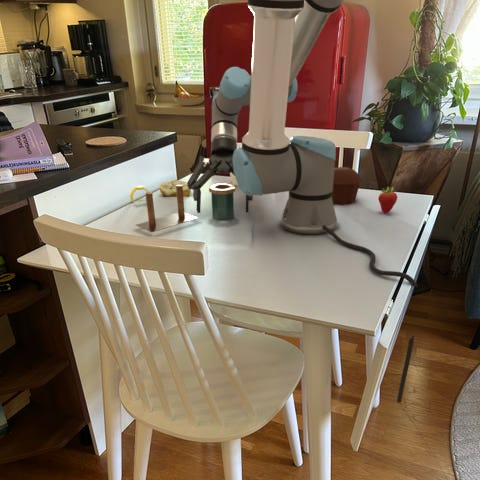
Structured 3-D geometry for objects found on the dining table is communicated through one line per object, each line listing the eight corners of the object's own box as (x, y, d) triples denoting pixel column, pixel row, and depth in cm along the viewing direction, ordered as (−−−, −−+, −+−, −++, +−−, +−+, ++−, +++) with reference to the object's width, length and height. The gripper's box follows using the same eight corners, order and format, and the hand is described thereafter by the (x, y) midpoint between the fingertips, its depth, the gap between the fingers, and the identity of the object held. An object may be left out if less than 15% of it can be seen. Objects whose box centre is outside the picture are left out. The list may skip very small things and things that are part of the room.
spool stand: (181, 216, 142) (179, 180, 136) (199, 222, 137) (196, 186, 131) (135, 230, 132) (130, 192, 127) (152, 237, 127) (147, 198, 122)
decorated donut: (167, 201, 155) (166, 189, 153) (155, 193, 163) (154, 182, 161) (196, 195, 160) (195, 184, 158) (183, 188, 168) (182, 177, 166)
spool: (236, 217, 140) (235, 183, 135) (235, 225, 134) (234, 190, 129) (212, 217, 140) (210, 183, 135) (209, 226, 134) (208, 190, 129)
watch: (133, 207, 150) (131, 188, 146) (130, 205, 152) (128, 186, 149) (151, 204, 152) (149, 186, 149) (148, 202, 154) (146, 184, 151)
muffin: (365, 199, 153) (369, 167, 148) (348, 208, 146) (351, 174, 141) (334, 193, 160) (336, 162, 155) (315, 200, 153) (317, 169, 148)
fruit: (384, 209, 145) (388, 182, 140) (398, 213, 141) (403, 186, 137) (373, 212, 142) (376, 185, 138) (386, 217, 138) (390, 189, 134)
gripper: (266, 150, 141) (267, 216, 136) (183, 151, 142) (180, 216, 137) (267, 135, 134) (268, 203, 129) (179, 136, 135) (176, 204, 130)
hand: (222, 210), depth 133 cm, fingers open, 13 cm apart
